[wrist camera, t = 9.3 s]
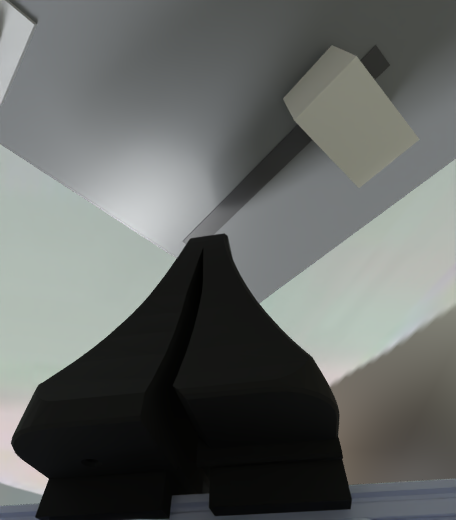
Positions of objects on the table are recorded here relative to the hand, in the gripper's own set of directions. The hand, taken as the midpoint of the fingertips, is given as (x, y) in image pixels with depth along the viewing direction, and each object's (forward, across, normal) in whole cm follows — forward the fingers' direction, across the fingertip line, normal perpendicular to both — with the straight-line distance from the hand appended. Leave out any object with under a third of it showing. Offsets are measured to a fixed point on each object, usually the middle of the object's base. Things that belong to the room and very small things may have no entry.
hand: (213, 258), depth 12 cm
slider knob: (+2, -5, -4) cm, 7 cm away
